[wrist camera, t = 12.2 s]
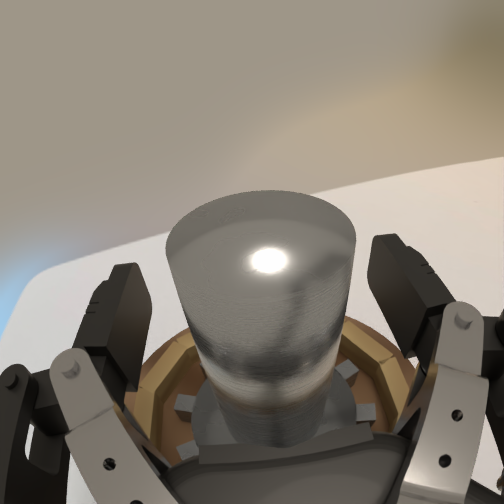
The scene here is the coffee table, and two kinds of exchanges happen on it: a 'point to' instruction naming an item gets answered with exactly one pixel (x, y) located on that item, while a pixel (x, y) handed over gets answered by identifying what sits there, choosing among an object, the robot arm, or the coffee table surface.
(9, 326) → the coffee table surface
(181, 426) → the carrier disc
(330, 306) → the gear
